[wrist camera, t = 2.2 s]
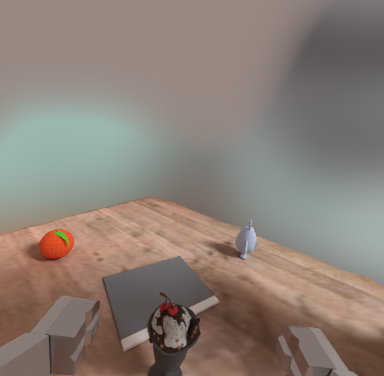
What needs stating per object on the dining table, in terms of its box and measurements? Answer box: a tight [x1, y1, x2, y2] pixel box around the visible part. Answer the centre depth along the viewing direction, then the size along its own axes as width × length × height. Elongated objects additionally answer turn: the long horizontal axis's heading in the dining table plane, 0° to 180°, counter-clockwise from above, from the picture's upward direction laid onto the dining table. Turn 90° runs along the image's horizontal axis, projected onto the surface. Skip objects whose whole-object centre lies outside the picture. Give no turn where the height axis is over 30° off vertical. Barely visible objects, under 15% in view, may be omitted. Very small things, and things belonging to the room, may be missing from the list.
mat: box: [103, 256, 219, 352], centre depth 41 cm, size 20×17×1 cm
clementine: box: [39, 229, 74, 259], centre depth 46 cm, size 8×7×7 cm
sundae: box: [147, 292, 201, 376], centre depth 25 cm, size 7×7×15 cm
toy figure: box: [236, 220, 257, 259], centre depth 58 cm, size 11×6×12 cm, turn 163°
